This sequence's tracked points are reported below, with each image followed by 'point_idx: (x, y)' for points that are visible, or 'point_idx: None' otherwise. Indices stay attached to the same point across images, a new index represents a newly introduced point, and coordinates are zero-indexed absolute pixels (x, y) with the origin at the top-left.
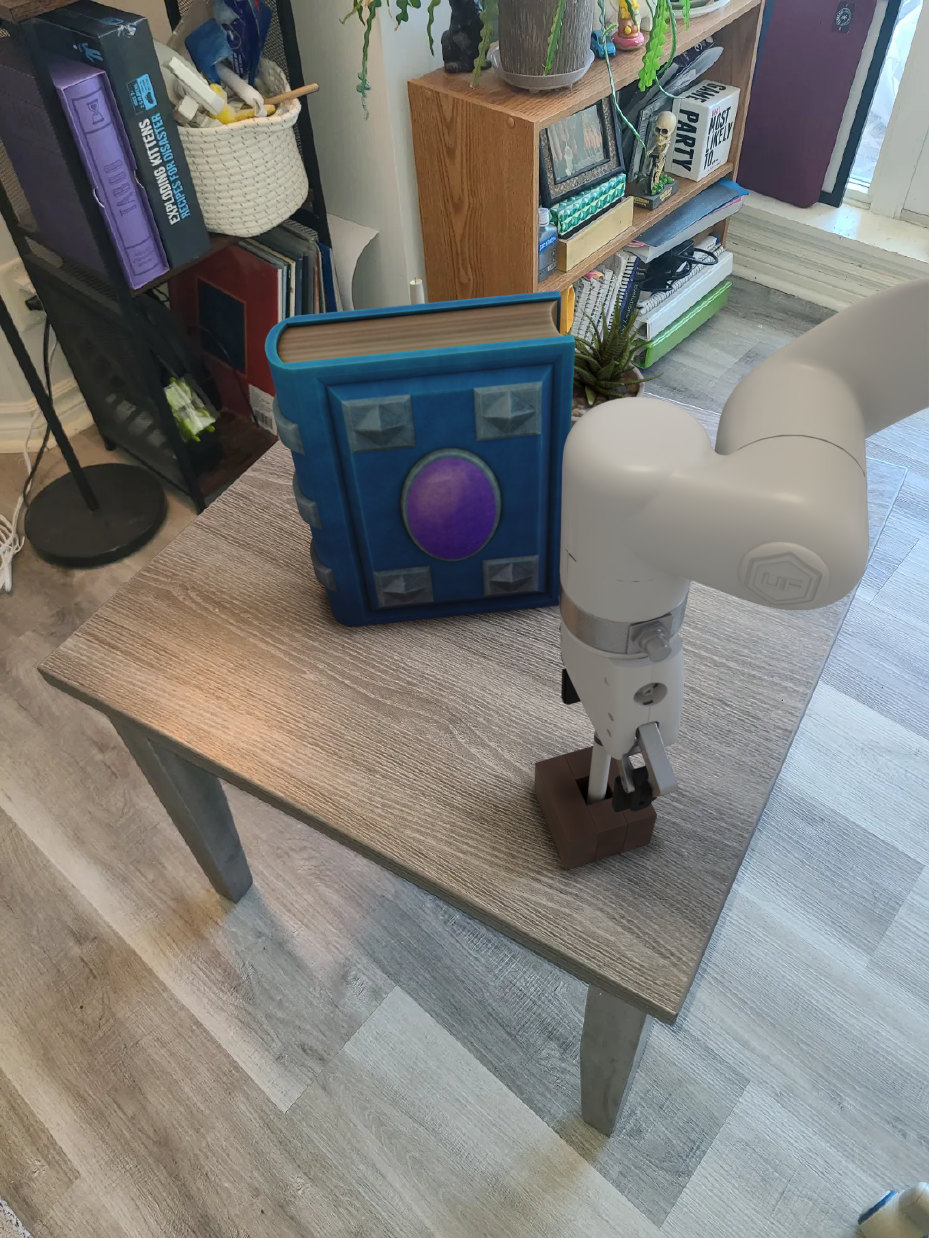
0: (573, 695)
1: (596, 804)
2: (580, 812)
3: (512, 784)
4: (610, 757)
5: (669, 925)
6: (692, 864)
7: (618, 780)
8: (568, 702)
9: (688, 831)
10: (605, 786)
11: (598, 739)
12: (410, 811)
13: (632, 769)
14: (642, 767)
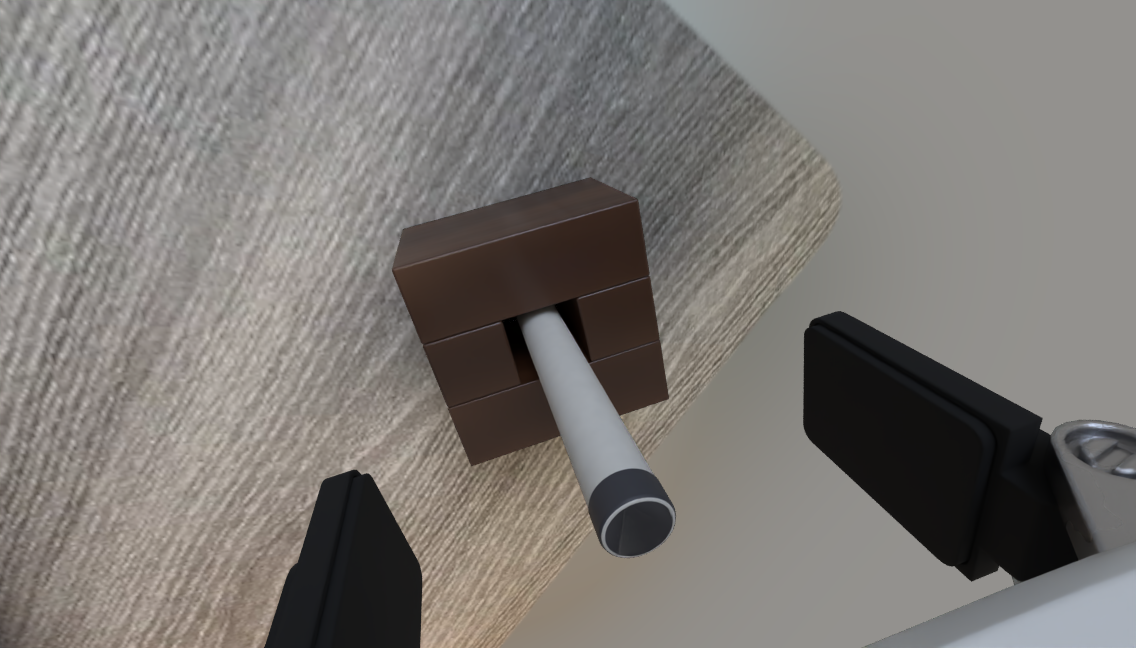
0: (410, 601)
1: (591, 340)
2: (606, 374)
3: (444, 427)
4: (609, 405)
5: (748, 170)
6: (647, 92)
7: (981, 569)
8: (419, 579)
9: (572, 80)
10: (569, 333)
11: (662, 543)
12: (494, 563)
13: (1025, 562)
14: (1056, 535)
